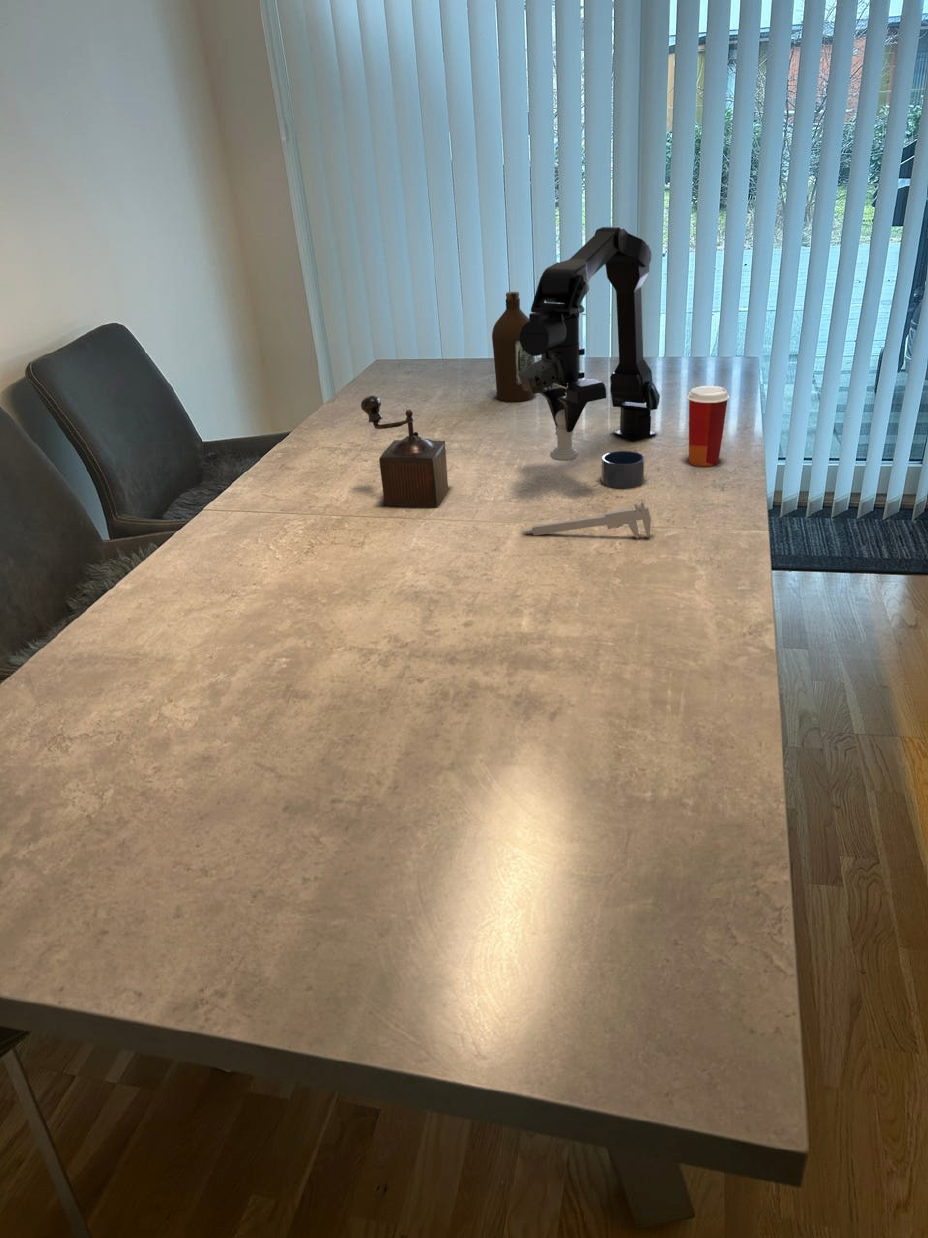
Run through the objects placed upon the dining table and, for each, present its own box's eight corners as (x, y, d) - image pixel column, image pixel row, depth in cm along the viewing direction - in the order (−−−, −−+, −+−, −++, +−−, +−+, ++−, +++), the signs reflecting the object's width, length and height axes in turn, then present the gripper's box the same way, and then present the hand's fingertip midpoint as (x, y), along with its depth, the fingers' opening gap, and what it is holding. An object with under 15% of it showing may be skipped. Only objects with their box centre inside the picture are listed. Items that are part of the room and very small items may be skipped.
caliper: (650, 536, 145) (651, 500, 142) (649, 539, 144) (651, 502, 141) (525, 532, 149) (525, 497, 146) (524, 535, 148) (524, 499, 145)
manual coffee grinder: (451, 486, 170) (444, 392, 162) (437, 507, 161) (430, 409, 152) (373, 484, 174) (363, 392, 165) (356, 506, 164) (344, 409, 155)
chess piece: (584, 455, 167) (584, 408, 163) (566, 463, 164) (566, 415, 159) (561, 450, 170) (561, 404, 166) (544, 458, 167) (543, 411, 163)
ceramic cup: (593, 479, 169) (593, 456, 167) (626, 471, 172) (627, 448, 170) (618, 491, 163) (618, 467, 161) (651, 482, 166) (652, 458, 164)
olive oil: (485, 398, 224) (481, 294, 212) (514, 389, 230) (511, 287, 218) (516, 405, 217) (513, 297, 205) (545, 395, 223) (544, 290, 211)
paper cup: (720, 454, 177) (726, 384, 170) (726, 467, 170) (733, 394, 164) (680, 455, 178) (684, 385, 171) (685, 468, 171) (689, 396, 165)
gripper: (497, 341, 161) (501, 426, 169) (554, 359, 146) (555, 451, 154) (549, 332, 165) (550, 414, 173) (609, 349, 151) (607, 438, 158)
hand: (564, 429), depth 165 cm, fingers closed on chess piece, 3 cm apart
